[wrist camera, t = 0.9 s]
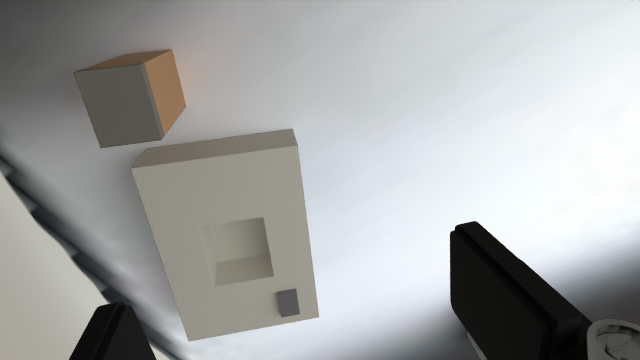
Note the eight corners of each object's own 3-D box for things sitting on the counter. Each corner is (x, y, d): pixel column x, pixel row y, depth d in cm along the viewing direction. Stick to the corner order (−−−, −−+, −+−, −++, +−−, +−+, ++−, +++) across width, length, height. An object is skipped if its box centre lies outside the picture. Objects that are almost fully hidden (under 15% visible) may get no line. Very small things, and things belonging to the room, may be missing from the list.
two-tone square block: (124, 54, 32) (73, 72, 23) (172, 49, 33) (140, 64, 24) (141, 111, 34) (100, 148, 25) (186, 106, 35) (161, 140, 26)
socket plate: (146, 148, 36) (128, 171, 31) (292, 128, 37) (298, 147, 32) (195, 307, 44) (187, 346, 39) (312, 286, 46) (319, 321, 41)
